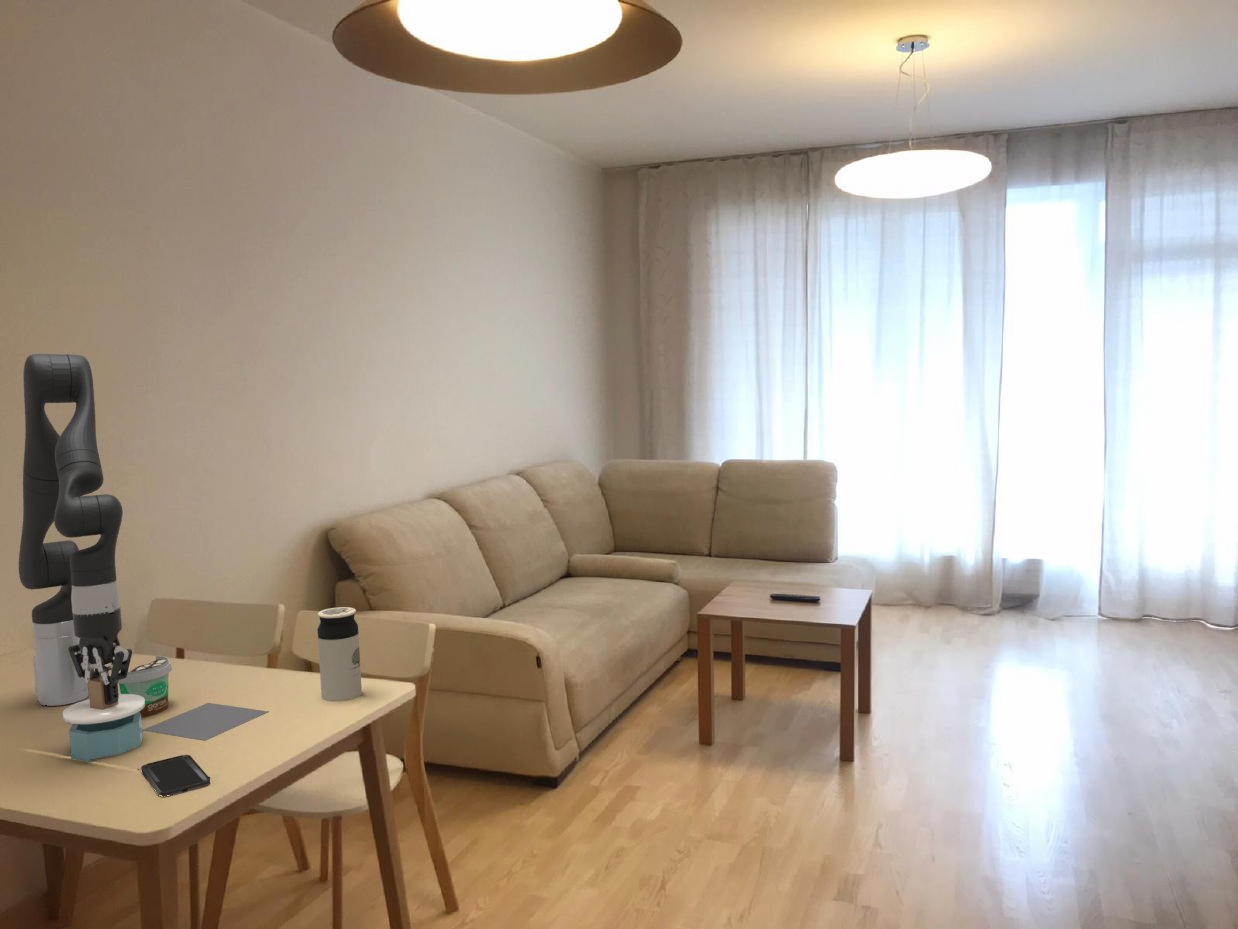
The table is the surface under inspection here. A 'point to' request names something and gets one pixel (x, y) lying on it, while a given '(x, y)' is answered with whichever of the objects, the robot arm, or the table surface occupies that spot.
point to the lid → (102, 706)
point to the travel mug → (339, 654)
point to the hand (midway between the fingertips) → (104, 701)
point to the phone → (175, 775)
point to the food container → (149, 685)
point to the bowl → (105, 738)
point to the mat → (205, 721)
